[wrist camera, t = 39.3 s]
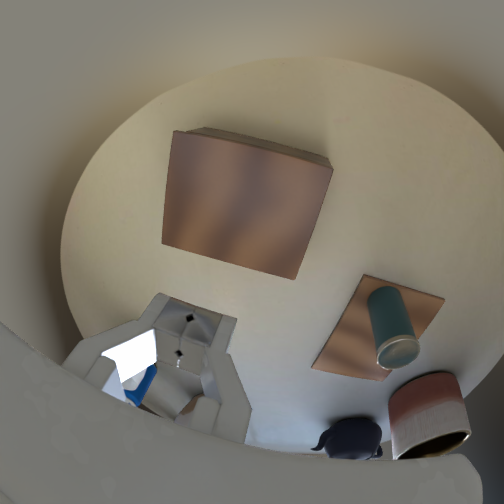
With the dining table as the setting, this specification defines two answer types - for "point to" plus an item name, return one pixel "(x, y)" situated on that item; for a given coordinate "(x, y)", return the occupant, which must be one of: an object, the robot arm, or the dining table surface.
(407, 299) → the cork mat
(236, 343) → the dining table surface
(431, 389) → the planter
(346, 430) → the teapot
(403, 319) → the tea tin
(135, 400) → the beverage can
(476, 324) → the dining table surface
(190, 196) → the chest lid
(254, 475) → the robot arm
